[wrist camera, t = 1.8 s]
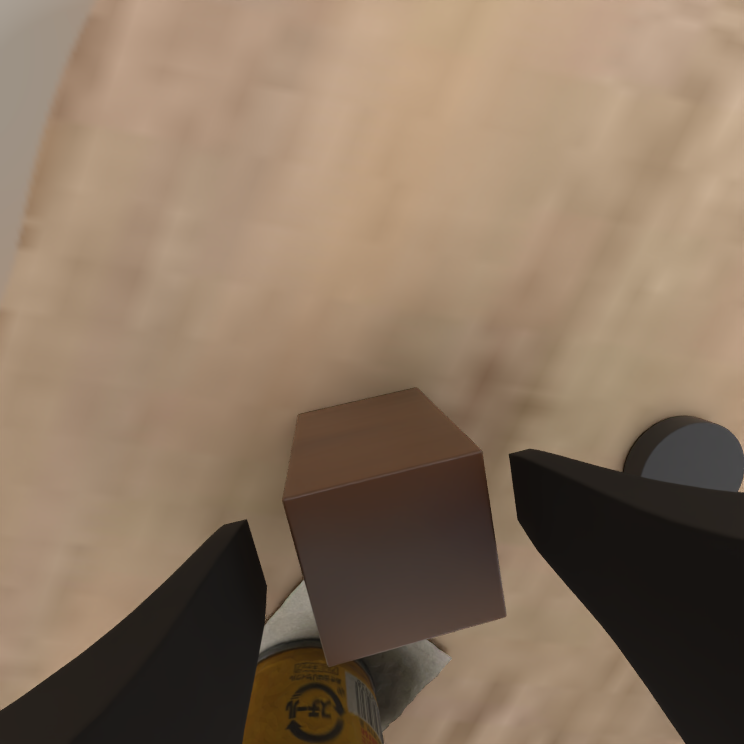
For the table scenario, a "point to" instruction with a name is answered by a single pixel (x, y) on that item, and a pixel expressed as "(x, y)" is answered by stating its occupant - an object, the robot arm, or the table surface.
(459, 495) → the walnut block
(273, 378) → the table surface
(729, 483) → the serving spoon
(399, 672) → the condiment
